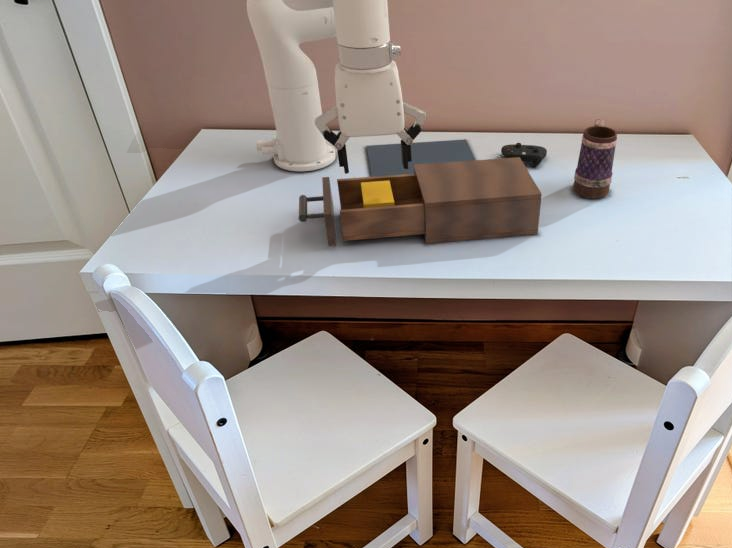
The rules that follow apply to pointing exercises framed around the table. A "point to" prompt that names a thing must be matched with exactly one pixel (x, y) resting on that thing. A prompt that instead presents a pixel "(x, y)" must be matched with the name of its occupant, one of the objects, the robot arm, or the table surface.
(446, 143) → the mat
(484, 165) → the cabinet
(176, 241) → the table surface
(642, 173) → the table surface
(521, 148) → the game controller
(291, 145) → the robot arm
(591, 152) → the brown purple cylinder
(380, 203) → the sponge
